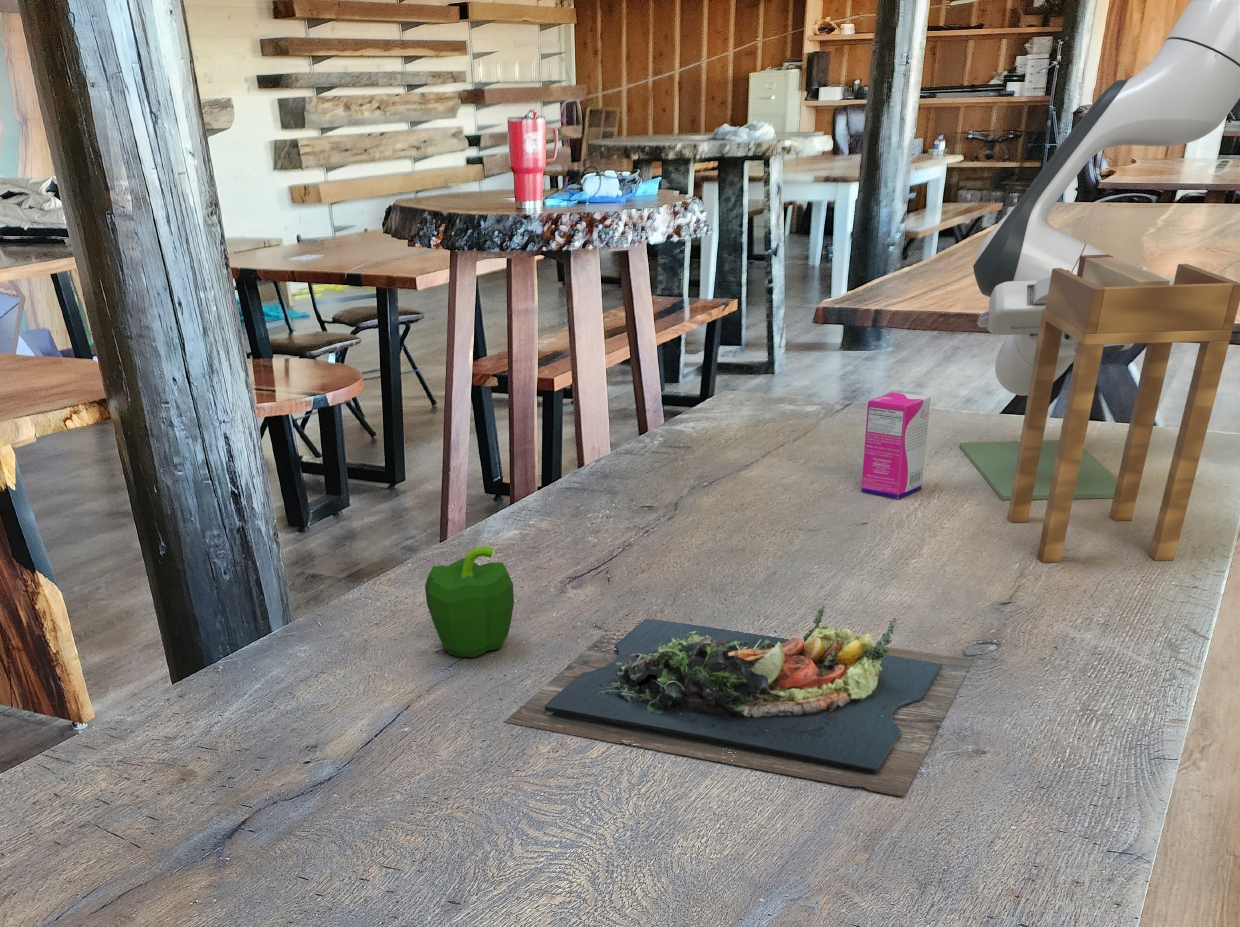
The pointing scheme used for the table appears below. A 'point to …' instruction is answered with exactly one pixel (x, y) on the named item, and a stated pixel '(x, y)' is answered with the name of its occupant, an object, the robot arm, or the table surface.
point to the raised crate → (1128, 317)
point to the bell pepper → (470, 604)
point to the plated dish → (758, 700)
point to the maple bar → (1115, 272)
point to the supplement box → (895, 444)
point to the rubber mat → (1001, 463)
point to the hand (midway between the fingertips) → (1101, 275)
